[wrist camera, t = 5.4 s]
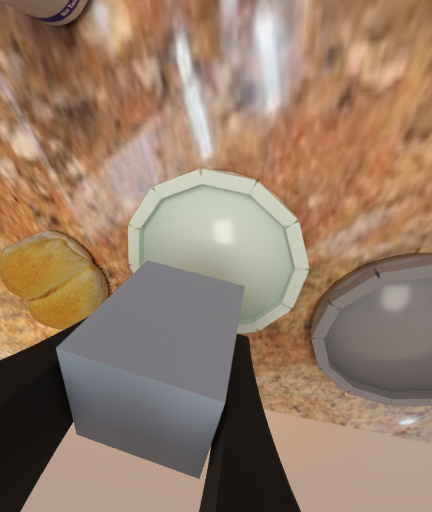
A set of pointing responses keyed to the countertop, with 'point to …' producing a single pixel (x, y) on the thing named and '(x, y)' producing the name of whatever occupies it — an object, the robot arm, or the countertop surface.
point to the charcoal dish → (379, 331)
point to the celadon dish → (224, 239)
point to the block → (155, 365)
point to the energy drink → (50, 9)
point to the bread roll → (54, 278)
